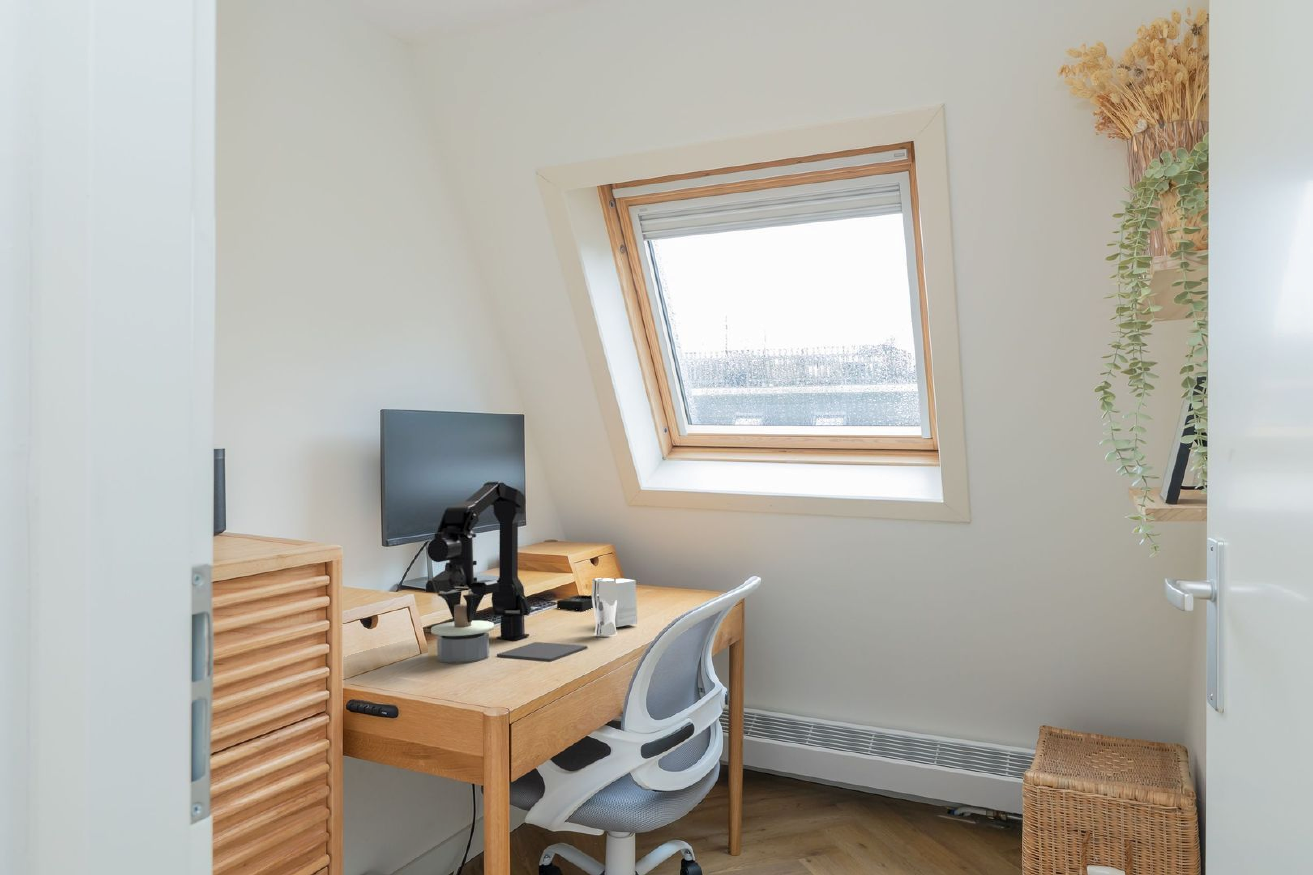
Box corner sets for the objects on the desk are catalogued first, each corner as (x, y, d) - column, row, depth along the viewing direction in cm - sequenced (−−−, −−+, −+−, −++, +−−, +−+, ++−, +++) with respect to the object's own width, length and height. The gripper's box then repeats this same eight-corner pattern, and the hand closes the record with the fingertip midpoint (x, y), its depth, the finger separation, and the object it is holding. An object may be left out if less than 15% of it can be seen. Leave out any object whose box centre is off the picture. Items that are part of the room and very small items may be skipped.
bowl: (460, 651, 229) (460, 629, 230) (498, 654, 224) (498, 632, 224) (427, 661, 219) (427, 638, 219) (466, 664, 213) (466, 641, 213)
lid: (459, 623, 232) (458, 599, 232) (506, 626, 225) (505, 602, 225) (418, 633, 218) (417, 608, 219) (466, 637, 211) (466, 611, 212)
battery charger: (582, 614, 283) (582, 601, 283) (556, 613, 288) (556, 600, 288) (603, 608, 295) (603, 596, 295) (578, 607, 299) (578, 594, 299)
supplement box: (623, 621, 267) (621, 577, 268) (637, 623, 261) (636, 579, 262) (602, 624, 263) (600, 580, 263) (616, 627, 257) (615, 582, 257)
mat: (535, 644, 236) (535, 641, 236) (587, 648, 228) (587, 645, 228) (496, 656, 222) (496, 654, 222) (551, 661, 214) (550, 658, 214)
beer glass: (595, 638, 241) (594, 581, 242) (590, 633, 248) (588, 578, 248) (621, 636, 243) (619, 579, 244) (615, 631, 250) (613, 577, 250)
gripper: (408, 560, 219) (410, 625, 219) (469, 562, 211) (471, 629, 210) (440, 555, 229) (442, 617, 229) (499, 557, 220) (501, 621, 220)
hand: (462, 621), depth 222 cm, fingers closed on lid, 4 cm apart
